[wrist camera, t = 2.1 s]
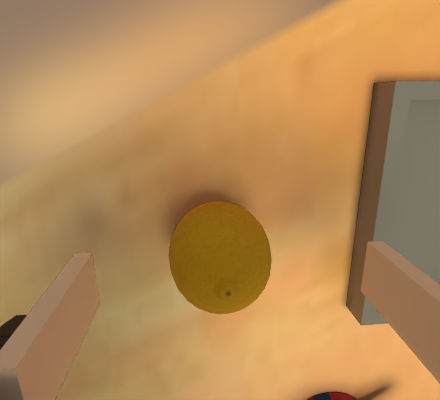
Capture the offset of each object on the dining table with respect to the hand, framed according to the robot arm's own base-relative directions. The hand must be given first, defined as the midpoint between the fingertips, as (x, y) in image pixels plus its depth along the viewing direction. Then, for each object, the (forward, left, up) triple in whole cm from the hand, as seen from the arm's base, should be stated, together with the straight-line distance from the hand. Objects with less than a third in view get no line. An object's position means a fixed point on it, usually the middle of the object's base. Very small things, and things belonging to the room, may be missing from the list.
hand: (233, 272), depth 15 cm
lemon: (0, 0, -7) cm, 7 cm away
